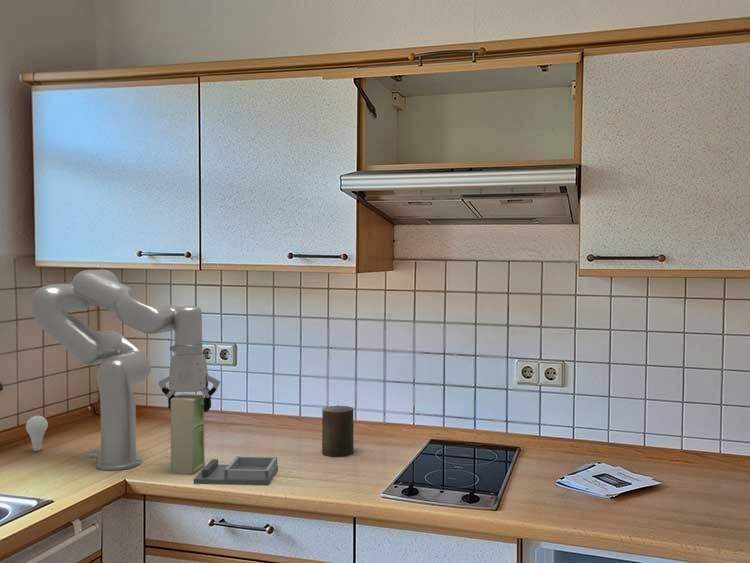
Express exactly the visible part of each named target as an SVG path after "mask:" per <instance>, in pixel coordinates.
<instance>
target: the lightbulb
mask: <svg viewBox="0 0 750 563" xmlns="http://www.w3.org/2000/svg"><path fill="white" fill-rule="evenodd" d="M48 426H49V423H48V421H47V419H46V418H45V417H44V416H41V415H34V416H32V417H30V418H29V419H28V420H27V421H26V423H25V431H26V432H27V434H28V435H29V437H30V440H31V444H32V445H31V446H32V450H33V451H35V452H39V451H40V450H42V448H43V440H44V436H45V433H46V432H47V429H48Z"/></svg>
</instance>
